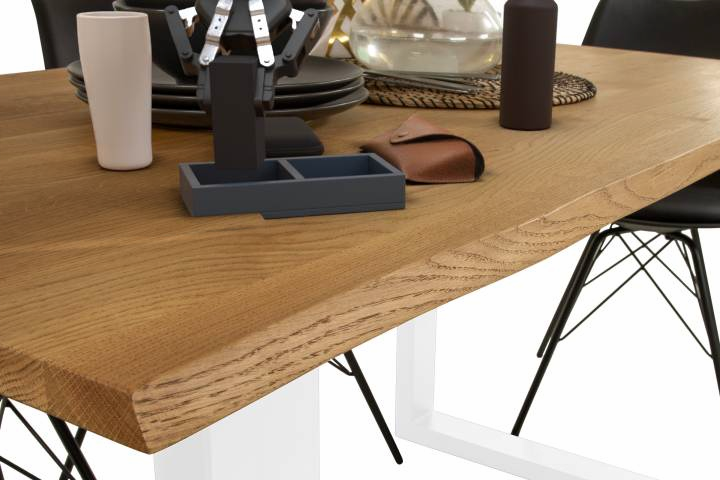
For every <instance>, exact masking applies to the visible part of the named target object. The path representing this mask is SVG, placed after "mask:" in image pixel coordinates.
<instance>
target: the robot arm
mask: <svg viewBox="0 0 720 480" xmlns="http://www.w3.org/2000/svg"><path fill="white" fill-rule="evenodd" d="M163 13H164V15H165V19H166V22H167V25H168V28H169V31H170V35H171V38H172V40H173V43H174V46H175V48H176V51H177V54H178V55H177V56H178V58H179V61H180V64H181V67H182V69H183V73H184V74H185V75H186V76H188V77H193V76H198V77H197V84H196V93H195V95H196V98H197V102H198V105H199V109H200V110H201V111H203V110H204V113H205V116H206V117H212V109H211V106H212V104H211V93H210V76H209V62H210V61H212V60H213V59H215V58H216V57H218V56H220V55H231V52H232V51H238V50H247V51H251V52H257V54H258V56H259V59H260V68H257V76H256V86H255V97H254V107H255V111H256V115H257V117H264V118H266V112H271V111H272V110H273V109H274V105H275V94H276V93H275V92H276V83H277V81H278V80H279V79H280V78H282V77H287V78H289V79H294V78H296V77H297V76H298V75H299V73H300V72H301V69H302V68H303V66H304V64H305V62H306V61H307V59H308V57H309V54H310V53H311V51H312V49H313V47H314V45H315V44H316V42H317V40H318V38H319V36H320V34H321V27H320V26H321V25H320V18H319V12H318V10H317V9H315V8H311V7H310V8H307V9H305V11H301V10H298V9H295V8H293V5H292V3H291V1H290V0H196V1H195V3H194V6H191V7H187V8H185V9H180V10H179V8H178V7H177V6H176V5H171V4H170V5H167V6H166V7H165V8H164V10H163ZM198 22H199V23H200V25H201V26H202V27H203V28H204V30H205V31H206V34H205V42H204V45H203V48H202V49H201V52H200V53H198V52H194V51H193V48H192V45H191V42H190V40H189V38H191V37H192V34H193V33H194V31H195V25H196V24H197V23H198ZM290 25H291V27H292V29H291V30H292V34H291V36H290V37H289V39H288V41H287V43H286V44H285V46H284V48H283V50H282V51H281V53H280V54H277V55H274V51H273V47H272V43H273V42H274V41H275V40H276V38H277V37H279V36H280V35H281V34H282V33H283V32H284V31H285V30H286V29H287V28H288V27H289V26H290Z"/></svg>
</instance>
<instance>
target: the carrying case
mask: <svg viewBox="0 0 720 480" xmlns="http://www.w3.org/2000/svg"><path fill="white" fill-rule="evenodd" d="M264 128H265V151H266V158H265V159H270V158H288V157H307V156H324V154H325V146H324V144H323V142H322V141H321V139H320V138H319V137H318V136H317V135H316V133H315V132H314V131H313V130H312V128H311V127H310V126H309V125H308V123H307V122H306V121H305V120H304V119H303V118H301V117H297V116H274V117H269V116H268V117H264Z"/></svg>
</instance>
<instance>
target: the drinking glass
mask: <svg viewBox="0 0 720 480" xmlns="http://www.w3.org/2000/svg"><path fill="white" fill-rule="evenodd" d="M76 29H77V42H78V43H77V44H78V52H79V59H80V65H81V70H82V76H83V81H84V87H85V91H86V96H87V102H88V108H89V113H90V119H91V123H92V129H93V134H94V140H95V147H96V157H97V163H98V165H99V166H100V167H102V168H104V169H106V170H110V171H111V170H112V171H133V170H140V169H144V168H147V167H148V166H150V165H151V164H152V162H153V157H154V156H153V146H152V145H153V144H152V105H153V103H152V102H153V101H152V100H153V99H152V97H153V95H152V93H153V92H152V91H153V90H152V89H153V87H152V85H153V55H152V38H151V30H150V22H149V15H148V13H145V12H138V11H87V12H80V13H77V14H76Z"/></svg>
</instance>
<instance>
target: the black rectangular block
mask: <svg viewBox="0 0 720 480" xmlns="http://www.w3.org/2000/svg"><path fill="white" fill-rule="evenodd" d="M257 68H260V59H259V55H232V54H230V55H220V56H218V57H216V58H215V59H213V60H212V61H210V62H209V76H210V93H211V104H212V106H211V109H212V116H211V124H212V140H213V143H212V144H213V157H214V161H215V170H253V171H257V170H258V169H259V167H260V166H261V164H262V163H263V161H264V160H265V158H266V151H265V128H264V118H265V117H257V115H256V111H255V107H254V97H255V86H256V76H257Z"/></svg>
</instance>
